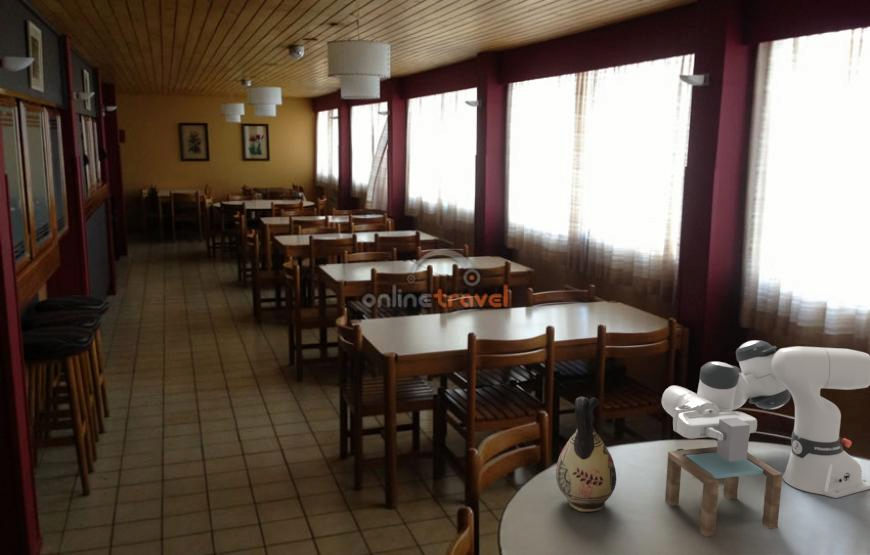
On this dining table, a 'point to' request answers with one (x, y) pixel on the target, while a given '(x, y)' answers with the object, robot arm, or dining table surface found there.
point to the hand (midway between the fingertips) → (735, 436)
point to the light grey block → (733, 439)
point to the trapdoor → (724, 465)
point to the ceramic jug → (586, 463)
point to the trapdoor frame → (712, 487)
